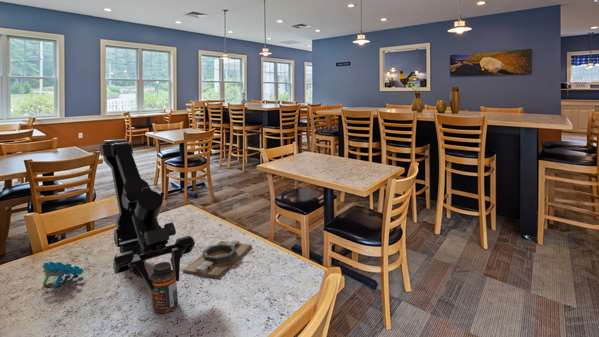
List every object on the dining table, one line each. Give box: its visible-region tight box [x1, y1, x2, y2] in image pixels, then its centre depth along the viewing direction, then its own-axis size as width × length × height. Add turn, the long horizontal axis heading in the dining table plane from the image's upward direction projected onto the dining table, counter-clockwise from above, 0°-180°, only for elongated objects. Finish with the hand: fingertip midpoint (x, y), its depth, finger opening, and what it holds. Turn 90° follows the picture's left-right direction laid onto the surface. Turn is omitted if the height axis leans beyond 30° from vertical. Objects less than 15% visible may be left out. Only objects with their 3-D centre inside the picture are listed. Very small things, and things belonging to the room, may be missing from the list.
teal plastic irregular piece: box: [42, 261, 84, 288], centre depth 95 cm, size 11×6×10 cm
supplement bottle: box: [149, 261, 179, 314], centre depth 83 cm, size 6×6×11 cm
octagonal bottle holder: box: [182, 239, 253, 279], centre depth 109 cm, size 12×22×3 cm, turn 162°
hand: (165, 285), depth 82 cm, fingers closed on supplement bottle, 6 cm apart
